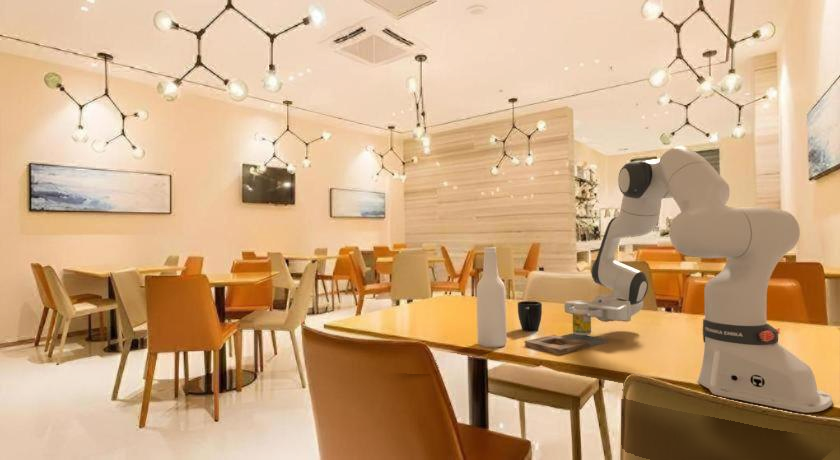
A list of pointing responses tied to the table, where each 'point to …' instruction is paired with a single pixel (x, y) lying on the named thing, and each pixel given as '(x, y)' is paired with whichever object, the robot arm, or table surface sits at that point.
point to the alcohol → (491, 304)
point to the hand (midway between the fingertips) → (579, 312)
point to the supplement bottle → (581, 319)
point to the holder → (565, 348)
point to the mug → (530, 315)
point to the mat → (587, 339)
